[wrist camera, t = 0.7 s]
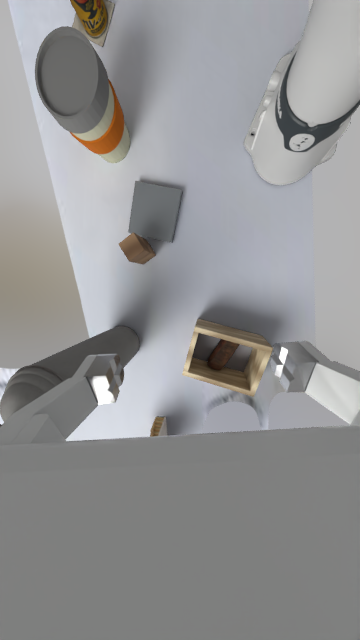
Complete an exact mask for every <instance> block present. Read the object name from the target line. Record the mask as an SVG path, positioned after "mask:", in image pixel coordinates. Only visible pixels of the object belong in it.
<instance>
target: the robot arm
mask: <svg viewBox="0 0 360 640" xmlns="http://www.w3.org/2000/svg"><path fill="white" fill-rule="evenodd" d="M359 105H360V0H313V3H312V6H311V9H310V13H309V16H308V19H307V22H306V25H305V29H304V32H303V35H302V38H301V40H300V41H299V42H298V43H297V44H296V45H295V47H294V49H293V51H292V53H289V54H287V55H286V56H284V57H282V58H281V59H280V61H279V63H278V65H277V67H276V69H275V71H274V72H273V74H272V76H271V79H270V82H269V85H268V87H267V90H266V92H265V94H264V97H263V99H262V101H261V103H260V106H259V108H258V110H257V112H256V115H255V117H254V119H253V122H252V124H251V126H250V128H249V131H248V133H247V135H246V138H245V140H244V146H245V148H246V150H247V151H248V152H249V153H250V154H251V156H252V159H253V163H254V166H255V169H256V171H257V173H258V174H259V175H260V177H261V178H263V179H264V180H265V181H267V182H269V183H271V184H275V185H287V184H291V183H294V182H296V181H298V180H300V179H302V178H303V177H304V176H306V175H307V174H308V173H309V172H310V171H311V170H312V169H313V168H314V167H316V166H317V165H319V164H321V163H324V162H326V161H327V160H329V159H330V158H331V157H332V156H333V155H334V153H335V151H336V146H337V141H338V140H339V139H340V138H341V136H342V135H343V134H344V133H345V131H346V130H347V129H348V127H349V126H350V124H351V122H350V119H351V116H352V114H353V113H354V112H355V111H356V109H357V108H358V106H359ZM251 134H254V136H252V135H251ZM273 351H274V354H273V355H272V356H271V360H270V364H271V368H272V371H273V372H274V374H275V375H276V376H278V377H280V381H279V382H280V383H281V384H282V386H283V387H284V389H285V390H286V392H305V393H306V394H308V395H309V396H310V397H312V398H313V399H315V400H316V401H318V402H319V403H320V404H322V405H323V406H325V407H326V408H327V409H329V410H331V411H332V412H333V413H335V414H336V415H338V416H339V417H340V418H342V419H343V420H345V421H346V422H347V423H349V424H350V425H347V426H329V427H311V428H294V429H277V430H260V431H243V432H226V433H208V434H189V435H171V436H154V437H136V438H119V439H101V440H84V441H66V440H65V439H66V438H67V437H68V436H69V435H70V434H71V433H72V432H73V431H74V430H75V429H76V428H77V427H78V426H79V425H80V424H81V423H82V422H83V421H84V420H85V419H86V417H87V416H88V415H89V414H90V413H91V412H92V411H93V410H94V409H95V408H96V407H97V406H98V404H107V403H115V402H116V400H117V397H118V394H119V388H118V387H119V386H121V385H122V383H123V379H124V369H123V366H122V365H120V364H119V363H120V360H121V359H120V356H119V355H118V354H99V355H89V356H87V357H86V358H85V360H84V361H83V363H82V364H81V365H80V367H79V368H78V370H77V371H76V373H75V374H74V375H73V377H72V378H68V379H67V380H65V381H63V382H62V383H60V384H59V385H57V386H56V387H54V388H52V389H51V390H49V391H48V392H46V393H45V394H43V395H42V396H40V397H38V398H37V399H35V400H34V401H32V402H31V403H29V404H27V405H26V406H24V407H23V408H21V409H20V410H18V411H16V412H15V413H13V414H12V415H11V416H10V417H9V418H8V419H7V420H6V421H5V423H4V424H3V425H2V426H1V427H0V640H360V371H357V370H355V369H353V368H350V367H348V366H345V365H343V364H340V363H338V362H335V361H333V362H332V361H330V360H329V359H328V358H327V357H326V356H325V355H323V354H322V353H321V352H320V351H319V350H318V349H316V348H315V347H314V346H313V345H312V344H311V343H309V342H308V341H297V342H288V343H275V345H274V346H273Z"/></svg>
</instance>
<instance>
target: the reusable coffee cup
mask: <svg viewBox="0 0 360 640" xmlns="http://www.w3.org/2000/svg"><path fill="white" fill-rule="evenodd" d="M35 80H36V85H37V90H38V93H39V96H40V98H41V100H42V102H43V104H44V105H45V107H46V108H47V109H48V111H49V112H50V113H51V114H52V116H53V117H54V118H55V119H56V120H57V122H58V123H59V124H60V125H61V126H62V127H63V128H64V129H66V130H67V131H69V132H70V133H71V134H72V136H74V137H75V138H76V139H77V140H78V141H79V142H81V143H82V144H83V145H84V146H85V147H87V148H88V149H89V150H90V151H92V152H94V153H96V154H98V155H99V156H101V157H102V158H103V159H104V160H106V161H107V162H110V163H117V162H120V161H121V160H123V159H124V157H125V156H126V155H127V153H128V150H129V147H130V136H129V132H128V130H127V127H126V124H125V122H124V116H123V112H122V109H121V107H120V104H119V101H118V99H117V96H116V94H115V91H114V88H113V86H112V84H111V82H110V80H109V79H108V76H107V72H106V69H105V67H104V65H103V63H102V61H101V59H100V58H99V56H98V54H97V53H96V51H95V50H94V48H93V46H92V45H91V43H90V42H89V40H88V39H87V37H86V36H85V35H84V34H83V33H82V32H81V31H79V30H77V29H75V28H72V27H68V26H67V27H60V28H57V29H55V30H53V31H52V32H51V33H49V34H48V36H47V37H46V38H45V39H44V41H43V43H42V44H41V46H40V49H39V51H38V54H37V59H36V65H35Z"/></svg>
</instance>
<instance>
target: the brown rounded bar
mask: <svg viewBox="0 0 360 640" xmlns="http://www.w3.org/2000/svg"><path fill="white" fill-rule="evenodd" d="M239 345H240V344H238V343H234V342H230V341H227V340H223V339H221V340H220V342H219V343H218V345H217V346H216V348H215V349H214V351H213V352H212V354H211V355H210V357H209V359H208V362H207V365H208V366H209V367H211V368H212V369H214V370H222V369H223V367H224V366H225V364H226V363H227V362H228V360H229V359H230V357H231V356H232V355H233V353H234V352H235V350H236V349H237V347H238V346H239Z"/></svg>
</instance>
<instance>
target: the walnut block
mask: <svg viewBox="0 0 360 640" xmlns="http://www.w3.org/2000/svg"><path fill="white" fill-rule="evenodd" d="M119 246H120V247H121V249H122V251H123V252H124V254H125V255H126V257H127V259H128V260H129V261H130V262H135V263H139V264H145V263H146V262H147V261H149V260H150V259H152V258H153V257H154V256H156V254H155V253H154V251H153V249H152V248H151V246H150V244H149V243H148V241H147V240H145V239H144V238H142V237H140V236H139V235H137V234H135V233H134V232H133V233H132V234H131V235H129V236H128V237H127V238H125V239H124V240H123V241H122V242H120V243H119Z"/></svg>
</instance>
